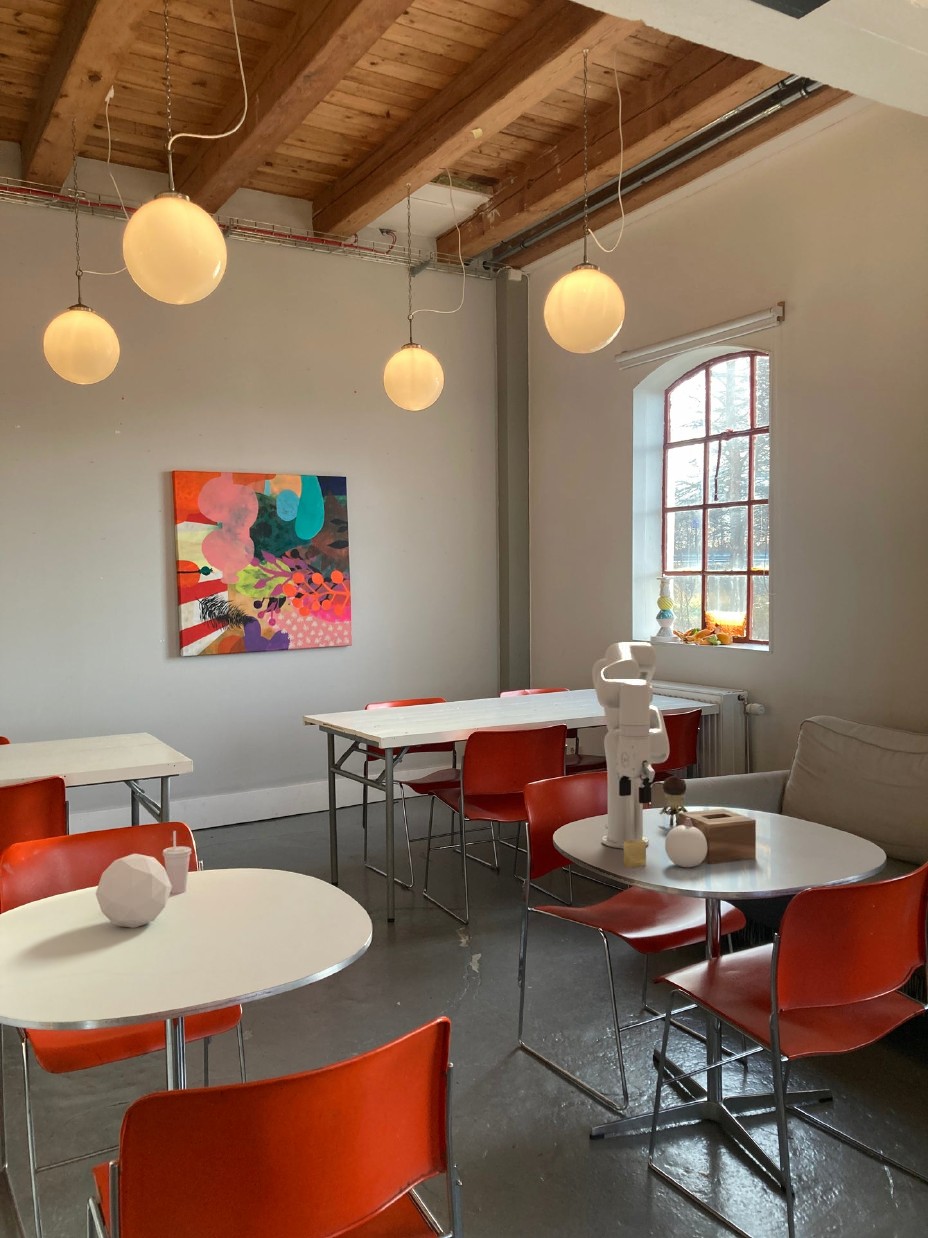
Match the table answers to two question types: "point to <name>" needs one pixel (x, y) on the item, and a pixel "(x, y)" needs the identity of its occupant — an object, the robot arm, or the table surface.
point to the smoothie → (177, 866)
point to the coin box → (724, 834)
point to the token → (634, 853)
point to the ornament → (686, 845)
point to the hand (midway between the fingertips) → (634, 799)
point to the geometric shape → (133, 890)
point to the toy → (674, 797)
